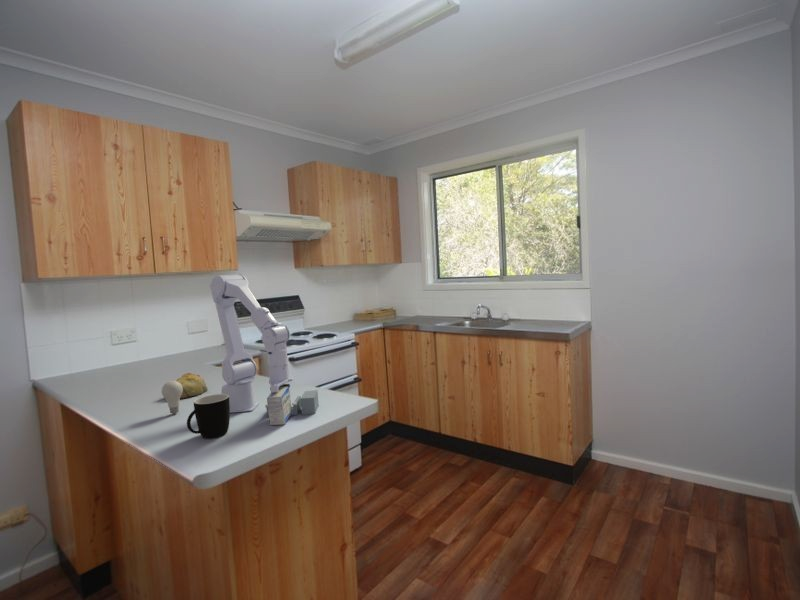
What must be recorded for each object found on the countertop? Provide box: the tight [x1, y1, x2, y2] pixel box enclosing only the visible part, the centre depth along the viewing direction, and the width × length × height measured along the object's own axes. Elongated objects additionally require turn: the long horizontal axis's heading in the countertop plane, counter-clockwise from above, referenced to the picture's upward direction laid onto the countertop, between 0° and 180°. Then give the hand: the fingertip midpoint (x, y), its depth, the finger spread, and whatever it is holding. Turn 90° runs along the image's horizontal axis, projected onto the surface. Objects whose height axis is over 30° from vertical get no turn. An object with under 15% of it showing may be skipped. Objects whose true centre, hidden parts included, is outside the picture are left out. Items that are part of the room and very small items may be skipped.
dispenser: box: [264, 389, 319, 418], centre depth 133 cm, size 15×9×5 cm, turn 93°
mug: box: [186, 393, 231, 440], centre depth 116 cm, size 12×9×10 cm
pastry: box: [175, 372, 208, 399], centre depth 161 cm, size 14×12×8 cm
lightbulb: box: [161, 380, 183, 415], centre depth 138 cm, size 6×6×11 cm
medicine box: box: [266, 386, 292, 426], centre depth 124 cm, size 8×4×9 cm, turn 179°
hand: (282, 408), depth 130 cm, fingers closed, pressing on medicine box
